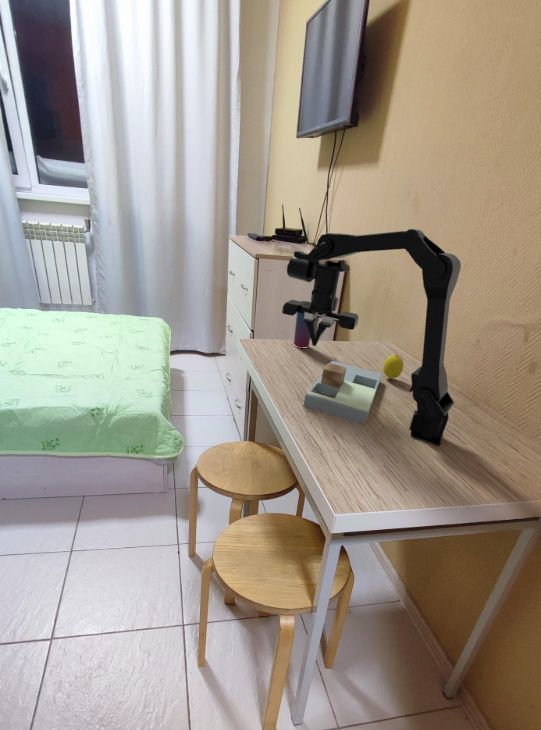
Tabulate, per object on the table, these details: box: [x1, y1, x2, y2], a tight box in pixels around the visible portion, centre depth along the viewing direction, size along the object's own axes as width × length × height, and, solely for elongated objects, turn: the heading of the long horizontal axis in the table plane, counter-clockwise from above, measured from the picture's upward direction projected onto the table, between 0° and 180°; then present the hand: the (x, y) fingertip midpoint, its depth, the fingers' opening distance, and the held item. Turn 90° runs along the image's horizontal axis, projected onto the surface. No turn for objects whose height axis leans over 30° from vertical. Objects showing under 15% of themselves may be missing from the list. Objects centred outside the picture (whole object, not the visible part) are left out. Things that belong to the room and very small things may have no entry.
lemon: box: [382, 354, 404, 380], centre depth 112 cm, size 6×6×8 cm
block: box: [321, 362, 346, 388], centre depth 100 cm, size 5×5×4 cm
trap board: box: [303, 360, 382, 425], centre depth 101 cm, size 15×27×3 cm, turn 157°
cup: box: [293, 300, 316, 347], centre depth 127 cm, size 7×7×15 cm
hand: (314, 345), depth 99 cm, fingers closed
